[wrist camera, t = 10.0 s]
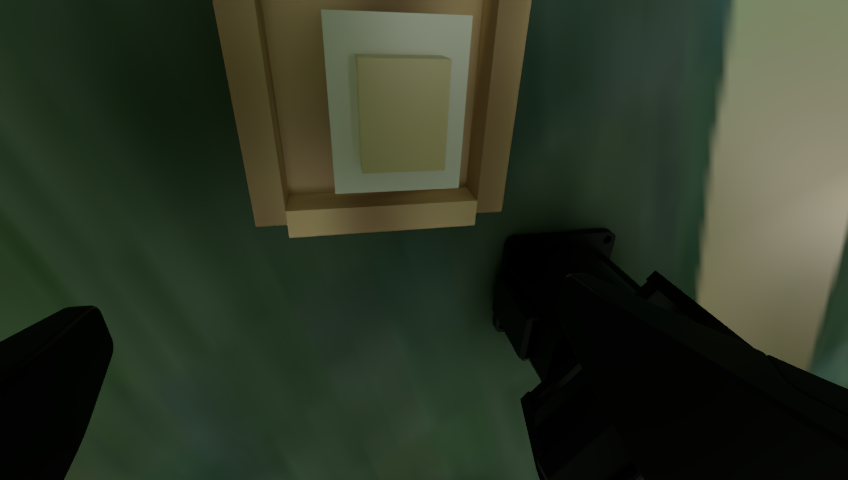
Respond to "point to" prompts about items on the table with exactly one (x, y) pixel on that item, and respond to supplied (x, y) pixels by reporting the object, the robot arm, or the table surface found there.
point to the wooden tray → (310, 125)
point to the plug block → (396, 98)
